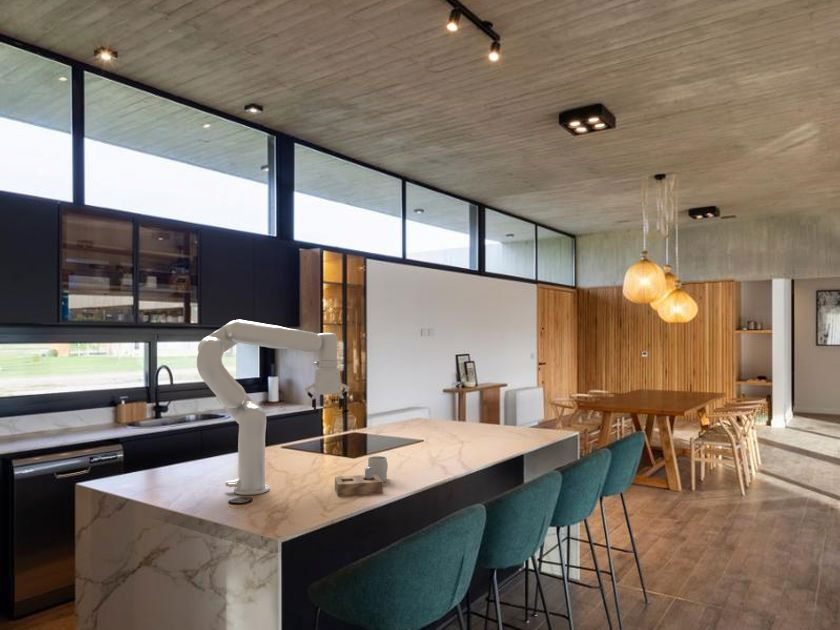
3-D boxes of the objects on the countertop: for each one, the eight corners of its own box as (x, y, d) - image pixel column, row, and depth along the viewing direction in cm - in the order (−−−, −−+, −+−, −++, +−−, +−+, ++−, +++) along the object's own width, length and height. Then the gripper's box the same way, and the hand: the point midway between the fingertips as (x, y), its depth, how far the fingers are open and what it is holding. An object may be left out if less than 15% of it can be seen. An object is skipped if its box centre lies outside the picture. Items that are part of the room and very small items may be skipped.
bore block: (338, 495, 217) (337, 484, 218) (334, 487, 229) (334, 476, 229) (382, 492, 221) (382, 481, 221) (377, 484, 233) (377, 474, 233)
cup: (364, 482, 238) (364, 458, 238) (379, 476, 246) (379, 454, 246) (379, 484, 234) (379, 460, 234) (394, 478, 242) (394, 456, 243)
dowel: (365, 487, 224) (365, 468, 224) (364, 486, 227) (364, 466, 228) (374, 487, 225) (374, 467, 225) (372, 485, 228) (372, 466, 228)
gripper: (305, 365, 233) (305, 410, 233) (350, 364, 237) (350, 409, 236) (304, 364, 240) (304, 408, 240) (348, 364, 244) (348, 407, 244)
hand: (327, 409), depth 238 cm, fingers open, 9 cm apart
